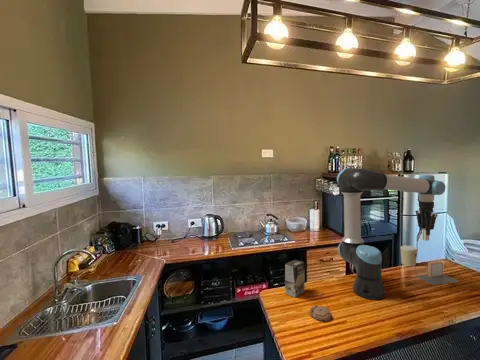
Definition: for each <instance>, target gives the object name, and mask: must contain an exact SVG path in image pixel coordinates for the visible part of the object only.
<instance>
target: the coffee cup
mask: <svg viewBox="0 0 480 360" xmlns="http://www.w3.org/2000/svg"><path fill="white" fill-rule="evenodd" d="M417 257H418V248H417V247H416V246H413V245H401V246H400V262H401V265H403V266H406V267H416V266H417Z"/></svg>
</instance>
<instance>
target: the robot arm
mask: <svg viewBox="0 0 480 360" xmlns="http://www.w3.org/2000/svg"><path fill="white" fill-rule="evenodd" d="M336 183H337V185H338V187H340V193H341V194H342V195H343V223H344V224H343V225H344V228H343V229H344V231H343V232H344V234H343V235H344V236H343V237H342V238H341V242H340V243H339V244H338V247H337V252H338V254H339V256H340V258H342V260H344V261H345V262H347V263H349V264H351V266H353V267H354V268H356V276H355V279H354V282H353V284H352V292H353V293H354V294H355V295H356V296H358V297H360V298H363V299H367V300H377V301H378V300H382V299H384V298H385V296H386V290H385V288H384V287H385V286H384V285H383V281H382V266H383V265H382V264H383V258H382V252H381V250H380V249H378V248H377V247H375V246H371V245H367V244H365V241H364V239H363V238H362V232H361V231H362V223H361V221H362V220H361V219H362V218H361V214H362V213H361V195H362V194H363V193H364V191H377V192H382V191H383V190H387V191H388V190H389V191H390V190H391V191H398V192H404V193H416V194H417V193H418V200H419V201H418V207H419V208H418V210H415V214H416V219H417V227H419V228H420V229H421V230H420V232H421V240H422V241H426V242H427V241H430V235H431V230H434V228H435V225H436V219H437V217H438V214H437V213H435V211H434V208H435V202H434V201H435V196H441V195H443V194H444V193H445V191H446V184H445V182H444V181H442V180H438V179H437V180H436V179H435V176H434V175H433V174H421V175H419V176H418V177H417V178H416V177H407V176H400V175H392V174H386V173H385V172H382V171H377V170H372V169H367V168H362V167H361V168H357V167H347V168H343V169H342V170H340V172H339V173H338V174H337V177H336Z"/></svg>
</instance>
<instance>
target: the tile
mask: <svg viewBox="0 0 480 360" xmlns="http://www.w3.org/2000/svg"><path fill="white" fill-rule="evenodd" d="M443 270H444V262H442V261H440V260H439V261H429V262H427V274H428V276H429V277H438V276H443V274H444V273H443V272H444V271H443Z"/></svg>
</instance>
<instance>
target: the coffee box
mask: <svg viewBox="0 0 480 360" xmlns="http://www.w3.org/2000/svg"><path fill="white" fill-rule="evenodd" d="M284 267H285V269H284V275H285V276H284V281H285V282H284V283H285V285H284V293H285V295H287V296H290V297H292V298H297V297H298V296H300V295H301V294H303V293H305V288H306V287H305V284H306V282H305V281H306V280H305V279H306V277H305V274H306V273H305V269H306V268H305V261H301V260H297V259H294V260H292V261H291V260H290V261H289V262H286V263H285V265H284Z"/></svg>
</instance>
